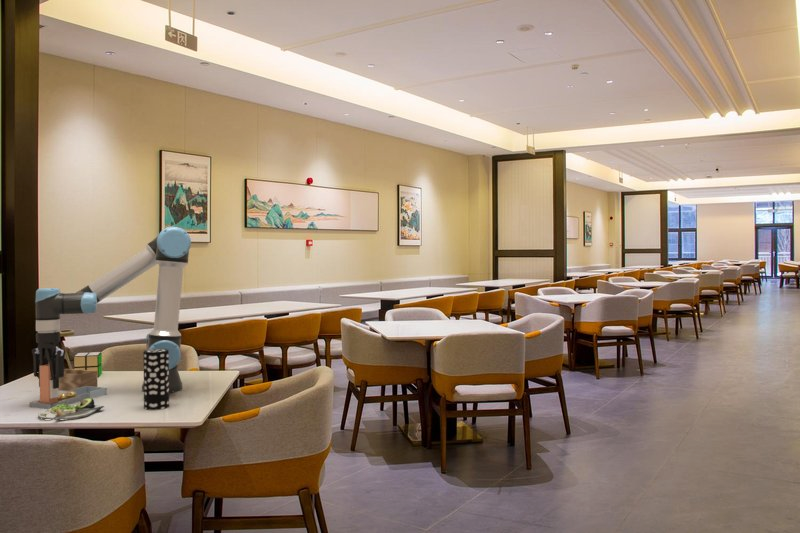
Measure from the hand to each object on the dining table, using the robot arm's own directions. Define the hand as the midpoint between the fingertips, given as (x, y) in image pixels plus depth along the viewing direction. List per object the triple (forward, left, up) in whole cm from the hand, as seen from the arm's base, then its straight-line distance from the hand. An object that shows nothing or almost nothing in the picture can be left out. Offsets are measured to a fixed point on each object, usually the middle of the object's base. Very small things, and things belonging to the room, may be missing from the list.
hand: (49, 396), depth 223 cm
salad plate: (-16, +5, -4) cm, 17 cm away
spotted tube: (-37, -12, -4) cm, 39 cm away
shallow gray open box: (0, -5, -4) cm, 6 cm away
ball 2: (0, -10, -3) cm, 10 cm away
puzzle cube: (+34, -50, -4) cm, 61 cm away
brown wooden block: (+17, -26, -3) cm, 31 cm away
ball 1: (0, -6, -3) cm, 7 cm away
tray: (0, -17, -4) cm, 18 cm away
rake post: (0, 0, -3) cm, 3 cm away
